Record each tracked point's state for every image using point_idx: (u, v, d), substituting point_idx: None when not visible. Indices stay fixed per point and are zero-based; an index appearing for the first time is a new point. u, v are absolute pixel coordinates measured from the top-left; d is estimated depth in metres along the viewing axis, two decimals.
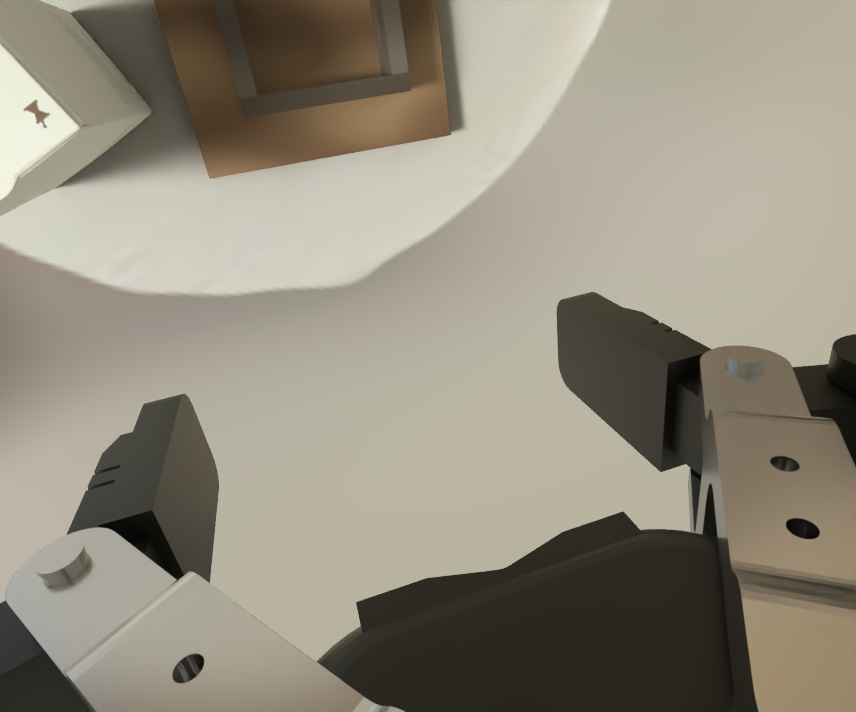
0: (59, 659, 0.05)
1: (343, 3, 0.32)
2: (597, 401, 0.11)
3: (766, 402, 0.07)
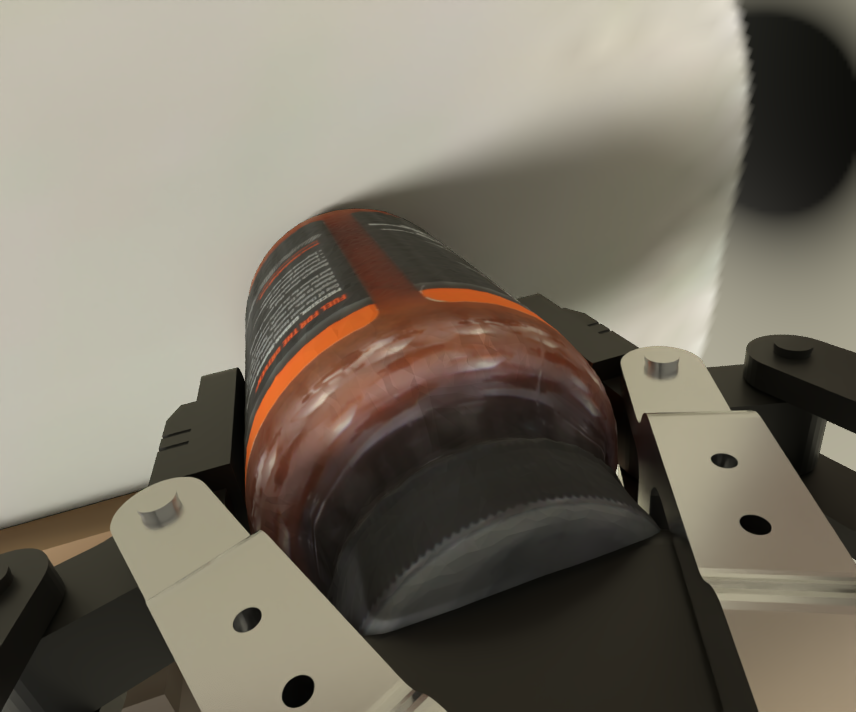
0: (145, 591, 0.06)
1: None
2: None
3: (689, 399, 0.08)
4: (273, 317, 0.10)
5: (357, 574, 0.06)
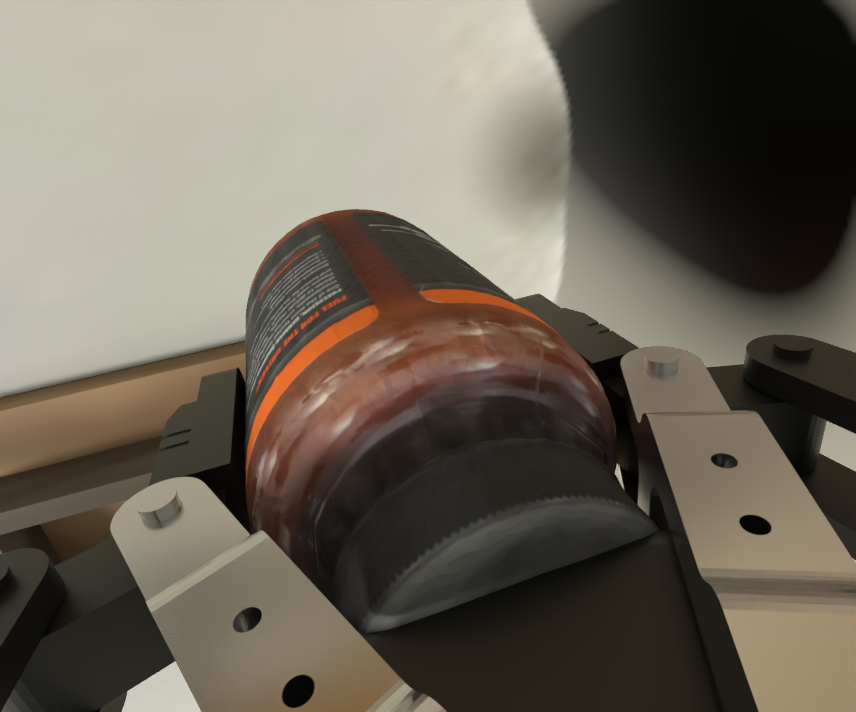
0: (146, 591, 0.06)
1: None
2: None
3: (689, 399, 0.08)
4: (273, 318, 0.10)
5: (357, 574, 0.06)
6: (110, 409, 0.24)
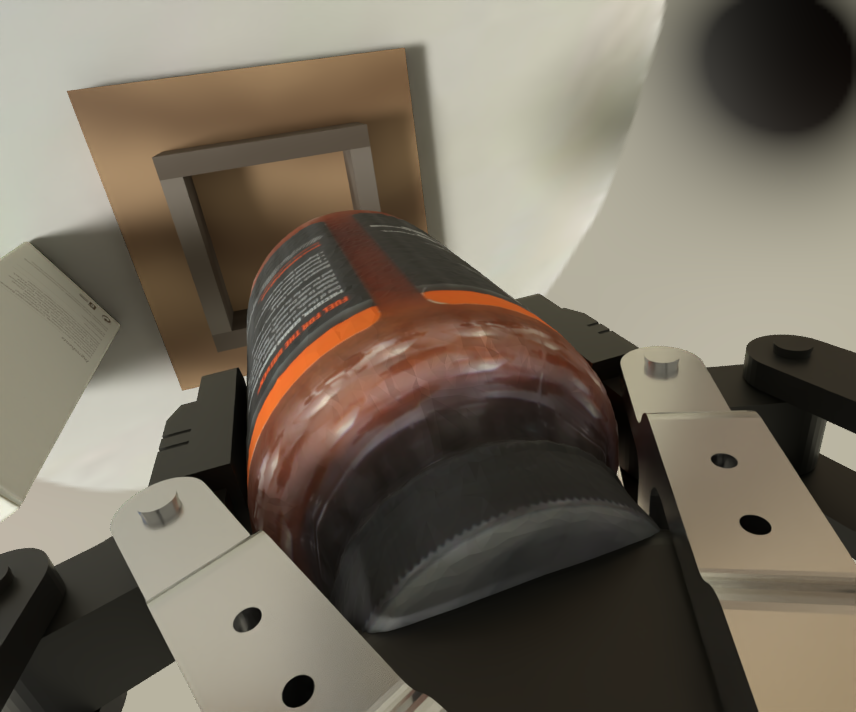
0: (146, 591, 0.06)
1: None
2: None
3: (688, 399, 0.08)
4: (275, 319, 0.10)
5: (360, 576, 0.06)
6: (274, 91, 0.27)
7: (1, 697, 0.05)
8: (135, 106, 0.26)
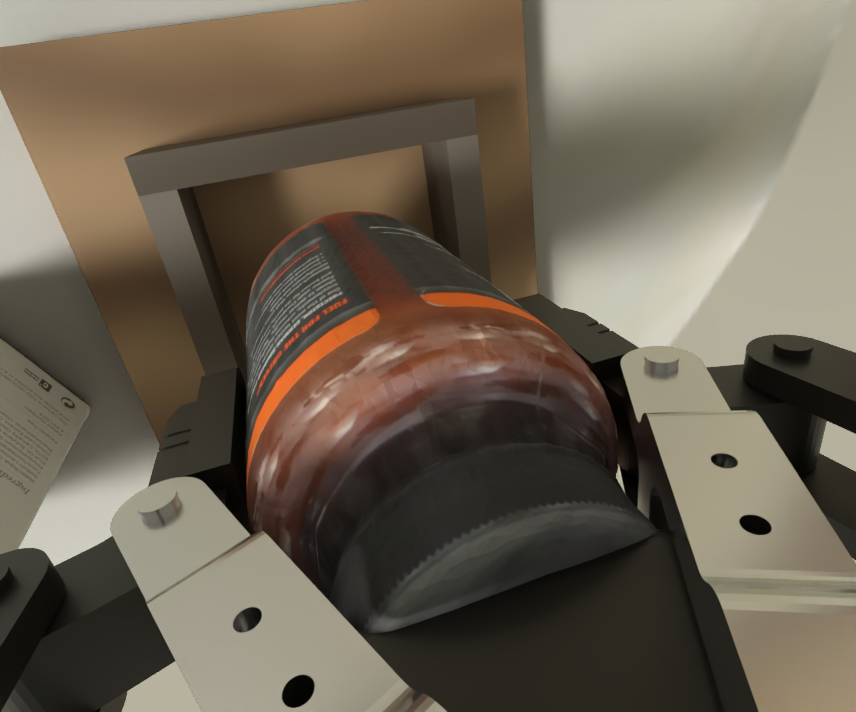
0: (145, 591, 0.06)
1: None
2: None
3: (688, 399, 0.08)
4: (274, 320, 0.10)
5: (359, 580, 0.06)
6: (320, 50, 0.17)
7: (1, 697, 0.05)
8: (99, 75, 0.16)
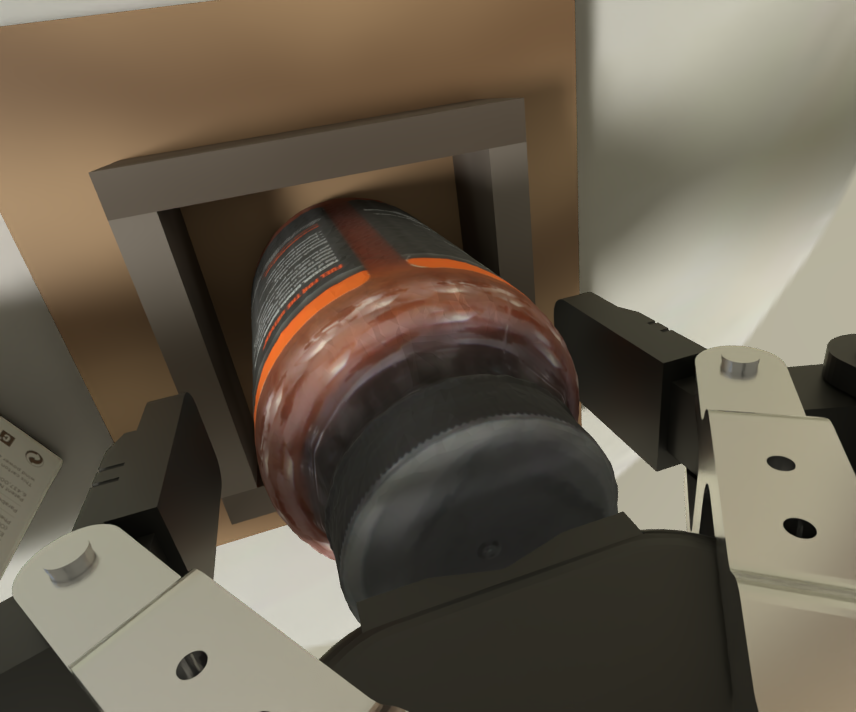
0: (65, 655, 0.05)
1: None
2: (593, 401, 0.11)
3: (762, 401, 0.07)
4: (278, 288, 0.11)
5: (350, 481, 0.07)
6: (334, 40, 0.14)
7: None
8: (62, 70, 0.13)
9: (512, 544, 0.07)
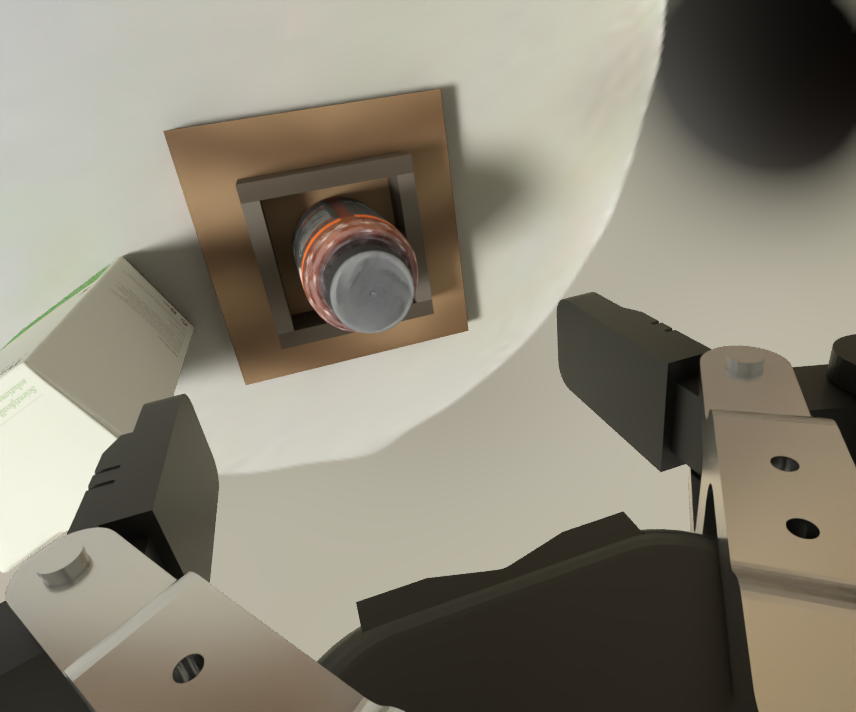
0: (59, 659, 0.05)
1: None
2: (597, 401, 0.11)
3: (766, 401, 0.07)
4: (308, 229, 0.29)
5: (332, 271, 0.25)
6: (331, 127, 0.32)
7: None
8: (217, 142, 0.31)
9: (379, 292, 0.25)
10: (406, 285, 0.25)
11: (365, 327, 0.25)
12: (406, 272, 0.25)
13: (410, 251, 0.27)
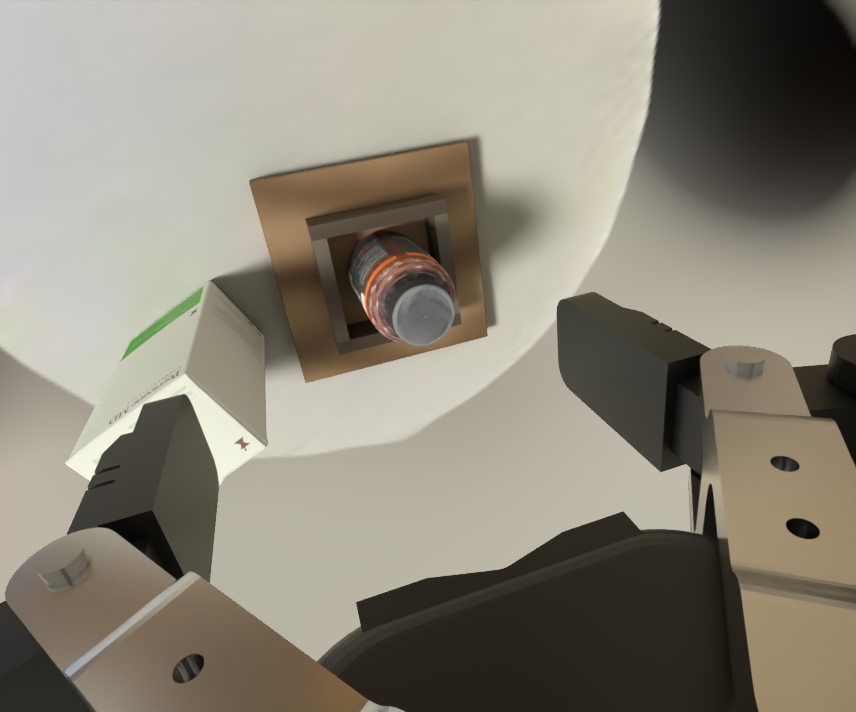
0: (59, 660, 0.05)
1: None
2: (597, 401, 0.11)
3: (766, 402, 0.07)
4: (367, 262, 0.36)
5: (394, 299, 0.32)
6: (380, 175, 0.40)
7: None
8: (291, 190, 0.38)
9: (429, 315, 0.33)
10: (449, 309, 0.33)
11: (418, 342, 0.33)
12: (449, 300, 0.33)
13: (449, 281, 0.35)
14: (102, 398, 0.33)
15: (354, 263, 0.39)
